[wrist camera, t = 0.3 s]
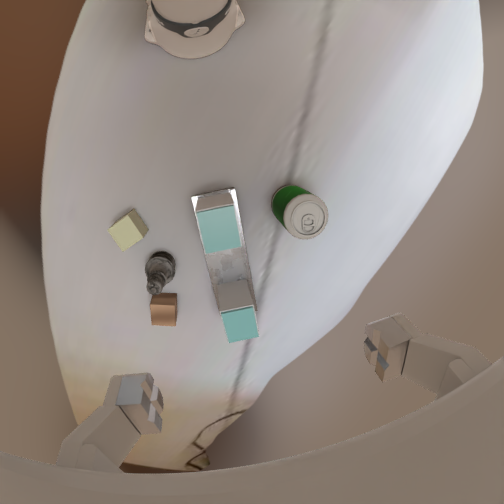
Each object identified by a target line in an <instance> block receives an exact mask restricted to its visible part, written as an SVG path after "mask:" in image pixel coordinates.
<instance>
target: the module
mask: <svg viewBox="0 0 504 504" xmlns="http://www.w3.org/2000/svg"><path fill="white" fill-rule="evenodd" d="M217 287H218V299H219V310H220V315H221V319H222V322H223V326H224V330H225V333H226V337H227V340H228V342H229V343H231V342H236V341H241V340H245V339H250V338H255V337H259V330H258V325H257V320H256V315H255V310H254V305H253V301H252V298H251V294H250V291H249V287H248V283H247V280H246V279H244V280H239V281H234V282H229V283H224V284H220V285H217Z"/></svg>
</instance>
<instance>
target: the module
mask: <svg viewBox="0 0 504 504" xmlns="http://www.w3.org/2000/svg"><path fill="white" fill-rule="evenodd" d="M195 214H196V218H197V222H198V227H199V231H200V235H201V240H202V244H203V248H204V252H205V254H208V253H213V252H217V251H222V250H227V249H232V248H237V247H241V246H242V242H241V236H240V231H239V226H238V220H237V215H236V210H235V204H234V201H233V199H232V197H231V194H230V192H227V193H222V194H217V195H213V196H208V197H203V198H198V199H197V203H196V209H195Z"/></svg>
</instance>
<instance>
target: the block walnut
mask: <svg viewBox="0 0 504 504" xmlns="http://www.w3.org/2000/svg"><path fill="white" fill-rule="evenodd" d="M150 310H151V321H152V325H161V326H176V319H177V293H160V294H158V295H153V296H152V300H151V303H150Z"/></svg>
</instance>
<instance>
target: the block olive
mask: <svg viewBox="0 0 504 504" xmlns="http://www.w3.org/2000/svg"><path fill="white" fill-rule="evenodd" d="M147 231H148V228H147V227H146V225H145V224H144V222H143V221H142V220H141V218H140V217H139V215H138V214H137V212H136V211H135V209H133V210H132V211H130V212H129V213H128V214H126V215H125V216H123V217H122V218H121V219H119V220H118V221H117V222H115V223H114V224H113V225H112V226H111V227H110V228H109V229H108V232H109V233H110V235H111V236H112V237H113V239H114V240H115V242H116V243H117V244H118V246H119V247H120V249H121V250H122V251H125V250H126V249H128V248H129V247H131V246H132V245H134V244H135V243H136V242H138V241H139V240H141V239H142V238H144V236H145V234H146V233H147Z"/></svg>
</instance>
